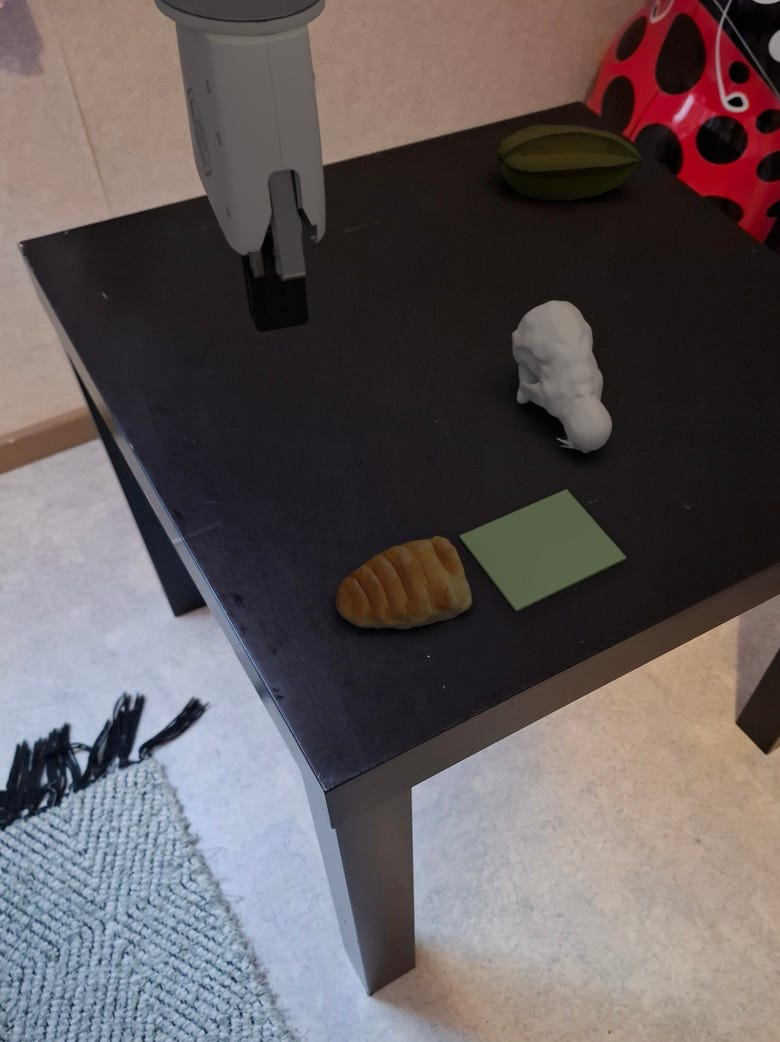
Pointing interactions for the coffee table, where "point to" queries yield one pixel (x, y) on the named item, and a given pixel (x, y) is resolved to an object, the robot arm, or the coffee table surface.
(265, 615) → the coffee table surface
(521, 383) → the grey lumpy elongated piece
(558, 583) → the cloth
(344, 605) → the pastry
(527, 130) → the fruit
